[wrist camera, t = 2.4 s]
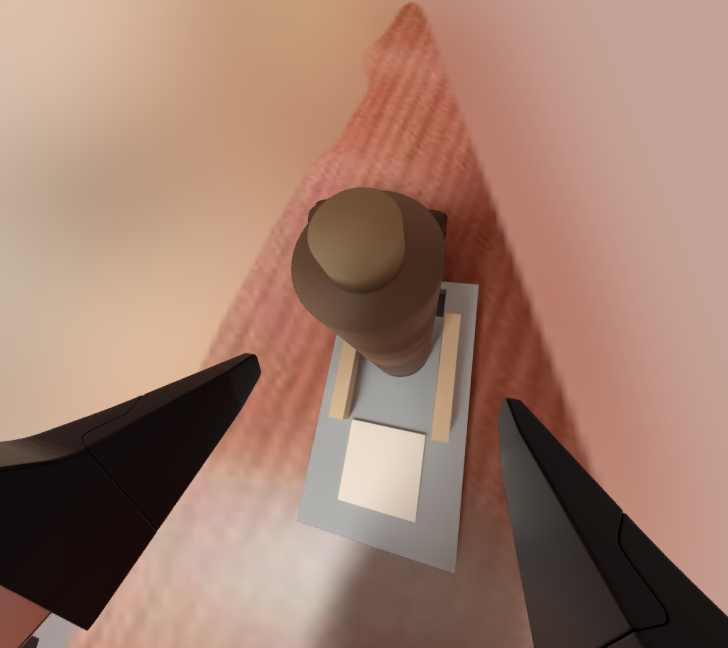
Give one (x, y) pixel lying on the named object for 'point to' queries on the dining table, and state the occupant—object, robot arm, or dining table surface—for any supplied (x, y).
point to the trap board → (397, 443)
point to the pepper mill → (373, 275)
